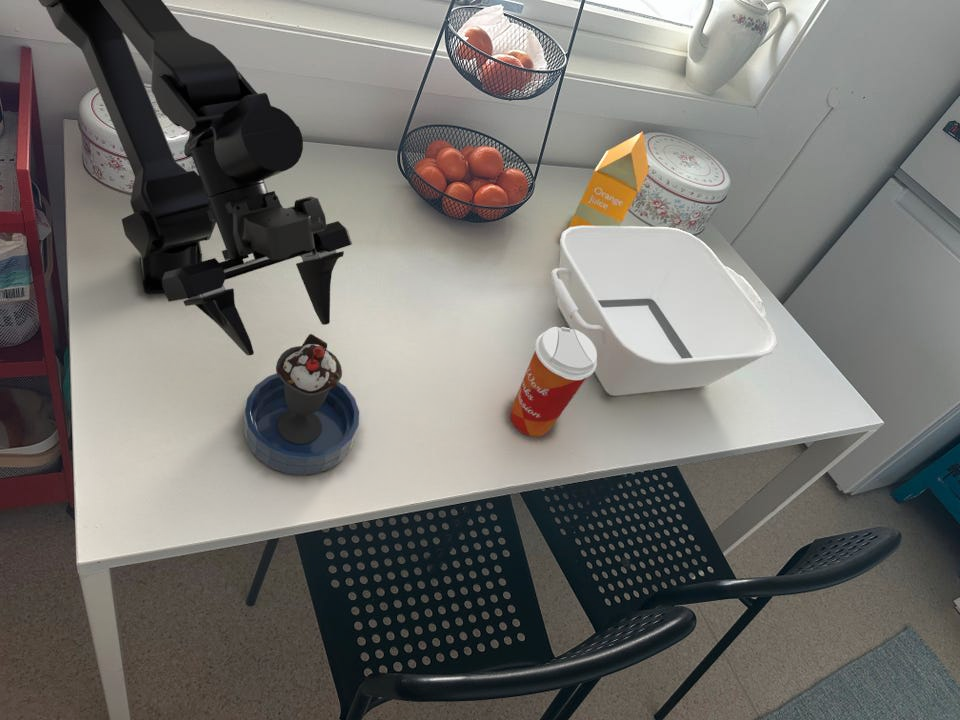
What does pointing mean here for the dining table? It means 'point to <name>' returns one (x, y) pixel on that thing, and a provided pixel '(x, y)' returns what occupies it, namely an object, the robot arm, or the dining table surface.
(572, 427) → the dining table surface
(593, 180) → the orange juice
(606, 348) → the tub
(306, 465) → the bowl
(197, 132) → the robot arm
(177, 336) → the dining table surface
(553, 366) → the paper cup
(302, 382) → the sundae
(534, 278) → the dining table surface
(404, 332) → the dining table surface
